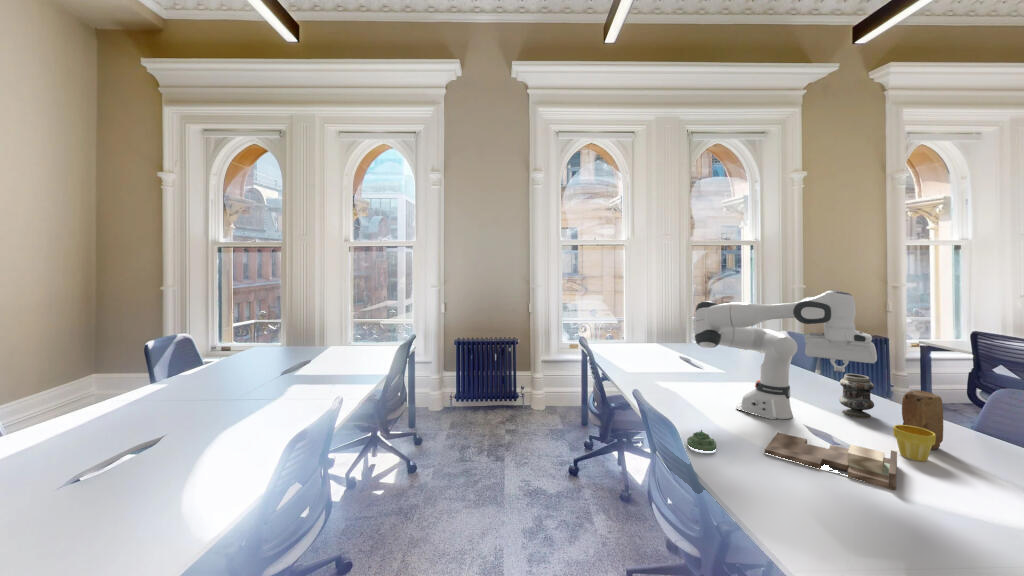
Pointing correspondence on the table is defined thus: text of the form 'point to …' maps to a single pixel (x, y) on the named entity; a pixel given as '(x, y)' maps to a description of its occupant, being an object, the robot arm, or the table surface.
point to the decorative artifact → (701, 441)
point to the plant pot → (914, 441)
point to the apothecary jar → (856, 395)
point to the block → (924, 413)
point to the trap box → (831, 459)
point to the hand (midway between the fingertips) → (839, 371)
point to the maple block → (866, 458)
